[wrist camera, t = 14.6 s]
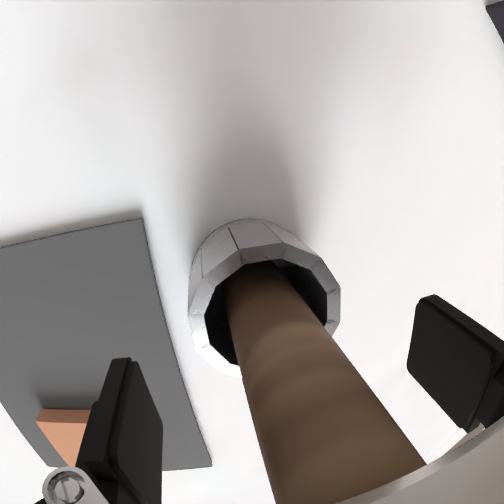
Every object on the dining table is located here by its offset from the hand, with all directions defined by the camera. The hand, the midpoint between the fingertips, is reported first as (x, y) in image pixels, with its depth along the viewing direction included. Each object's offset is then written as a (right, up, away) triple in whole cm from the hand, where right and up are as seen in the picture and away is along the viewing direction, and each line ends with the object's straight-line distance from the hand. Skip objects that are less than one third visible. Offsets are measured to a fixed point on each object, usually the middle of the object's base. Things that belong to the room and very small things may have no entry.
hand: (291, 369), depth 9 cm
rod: (-1, +2, +7) cm, 7 cm away
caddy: (-1, +2, +8) cm, 8 cm away
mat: (-13, -5, +8) cm, 17 cm away
